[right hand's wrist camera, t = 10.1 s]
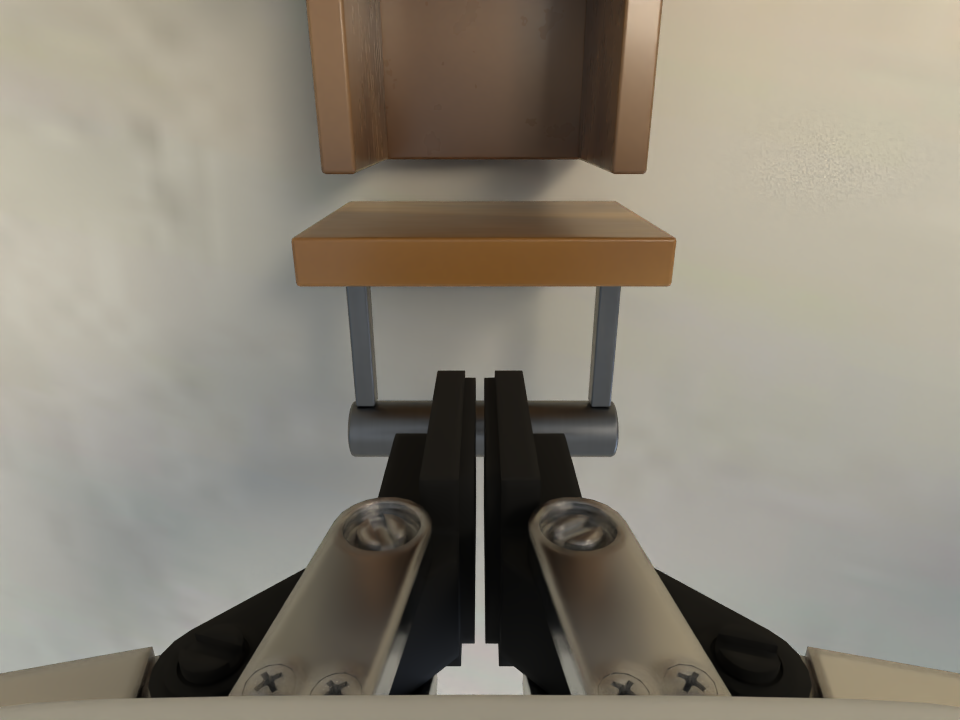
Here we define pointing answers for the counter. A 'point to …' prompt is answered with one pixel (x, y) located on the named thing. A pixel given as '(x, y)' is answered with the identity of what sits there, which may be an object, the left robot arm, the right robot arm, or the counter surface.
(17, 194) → the counter surface
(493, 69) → the drawer
